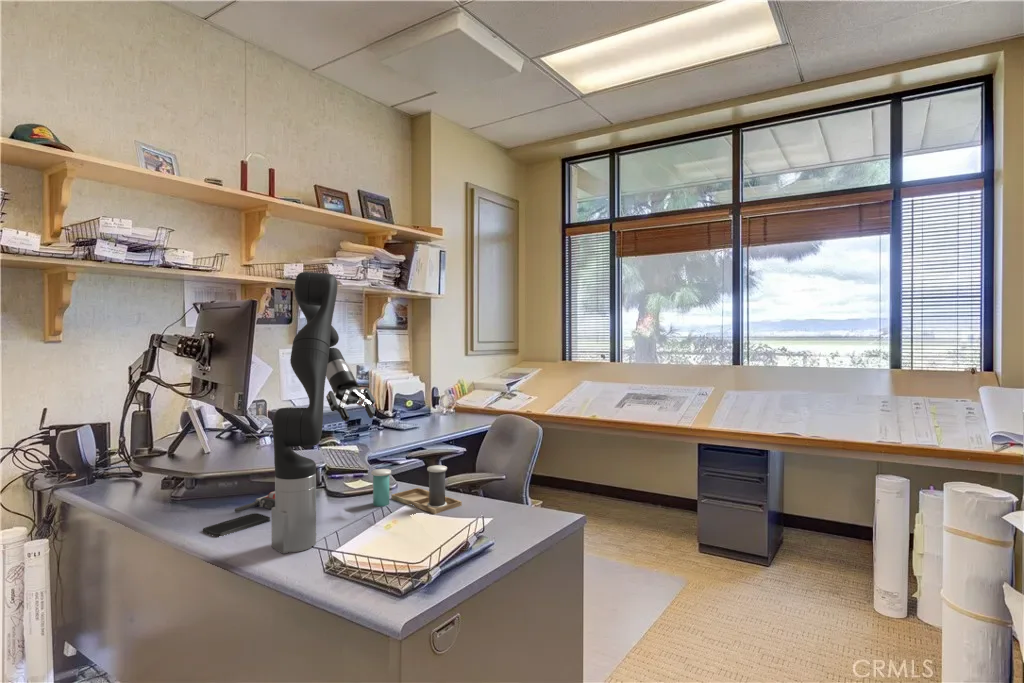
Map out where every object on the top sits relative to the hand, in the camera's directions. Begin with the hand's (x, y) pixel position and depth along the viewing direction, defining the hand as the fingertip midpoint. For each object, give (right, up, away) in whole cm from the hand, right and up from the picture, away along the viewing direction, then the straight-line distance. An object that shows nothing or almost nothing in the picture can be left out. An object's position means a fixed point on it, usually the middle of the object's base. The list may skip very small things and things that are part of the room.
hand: (360, 418), depth 171 cm
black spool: (+24, -24, -8) cm, 35 cm away
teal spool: (+8, -25, -7) cm, 28 cm away
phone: (-27, -26, -22) cm, 43 cm away
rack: (+21, -25, -5) cm, 33 cm away
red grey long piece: (-25, -26, -4) cm, 36 cm away
